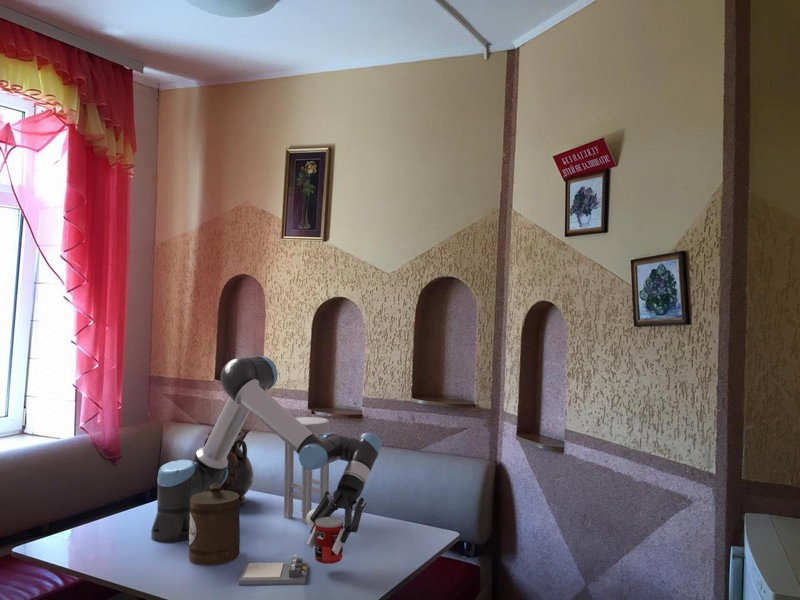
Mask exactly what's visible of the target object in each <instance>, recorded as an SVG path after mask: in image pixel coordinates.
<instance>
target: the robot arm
mask: <svg viewBox="0 0 800 600" xmlns="http://www.w3.org/2000/svg"><path fill="white" fill-rule="evenodd" d="M278 372H279V371H278V370H277V366H276V364H275V362H274V361H273V360H272V359H271V358H269V357H267V356H265V355H253V356H249V357H237V358H234V359H231V360H229V361H227V363H225V365H224V366H223V368H222V370H221V373H220V383H221V384H220V385H221V386H222V388H223V390H224V392H225V394H227V395H228V396H229V397H228V399H227V401H226V403H225V405H224V407H223V408H222V410H221V412H220V414H219V416H218V418H217V421H216V423H215V425H214V427H213V429H212V430H211V431H212V432H211V434H210V436H208V437H209V438H208V437H207V438H208V440H207V442H206V444H205V446H204V445H203V447H201V448H198V449H197V451H196V452H195V455H194V456H193V459H192V460H189V459H178V460H172V461H169V462H167V463H165V464H162V465H161V466H160V468H159V469H158V472H157V481H156V482H157V499H156V500H157V506H156V507H157V509H156V511H157V512H156V515H155V519H154V521H153V524H152V526H151V527H152V528H151V531H150V532H151V533H150V535H151V536H150V537H151V539H153V540H154V539H155V541H157V540H158V541H159V542H163V541H166V542H167V543H171V542H172V543H174V542H180V541H181V542H182V541H185V540H189V527H190V498H191V497H192V496H193V495H195V494H198V493H202V492H207V491H211V490H210V486H211V485H212V484H214V483H218V484H219V485H220V486H221V485H222V484H223V483H224V482H225V480H226V479H227V476H228V470H227V468H228V460H227V455H228V454H229V452H230V450H231V448H232V446H233V444H234V442H235V440H236V438H237V436H238V434H239V432H240V430H241V431H242V428H243V425H244V424H245V421H246V420H247V417H248V416H249V414H250V412H251V413H252V414H253V415H255V416H256V418H258V419H259V420H260V421H261V422H262V423H263V424H264V425H265V426H267V427H268V428H269V429H270V430H271V431H272V432H273V433H274V434H275V435H277V437H279V438H280V439H281V440H282V441H283V442H284V443H285V442H286V443H287V444H288V445H289V446H290V447H291V448H292V449H293V450H294V452H296V454H298V460H299V463H300V465H301V467H302V466H303V467H304V468H305V469H307V470H312V471H314V470H318V469H320V468H321V467H323V466H325V465H327V464H329V465H330V464H331V463H333V462H336V461H338V460H339V461H344V462H347V464H346V466H345V468H344V471H343V472H342V475H341V477H340V479H339V481H338V484H337V488H336V489H335V490H334V492H330V491H329V492H328V491H326V492H325V494H324V497H323V499H322V501H321V502H320V501H319V504H318V505H317V507H316V508H315V509H316V510H315V511H314V513H313V514H312V516H311V517H310V519H311V521H312V522H313V523H314V525H313V527H312V529H311V531H309V534H310V535H309V538H308V540H307V542H306V545H307V546H308V548H309V549H311V550H313V549H314V548H315V523H316V520H317V519H319V518H322V517H332V515H333V513H335V511H338V510H339V509H344V521H343V529H341V530H340V532H339V535H338V537H337V539H336V541H335V544H334V546H333V548H332V551H333V552H334V553H335V554H336V555H338V553H339V551H340V548H341V546H342V544H345V543H346V542H347V540H348V538H349V535H350V534H351V533H354V534H356V533H357V532H358V529H359V526H360V522H361V518H362V515H363V511H364V508H365V506H367V502H366V500H365V499H364V497H360V496H362V495H361V494H362V492H363V490H364V488H365V485H366V482H367V481H368V478H369V476H370V474H371V471H372V468H373V466H374V465H375V462H376V460H377V458H378V456H379V454H380V451H381V449H382V445H383V443H382V440H381V439H380V438H379V437H378V436H377V435H376V434H374V433H371V432H363V433H361V435H360V436H359V438H357V437H349V436H345V435H341V434H338V433H333V432H332V433H331V432H330V433H324V434H323V435H322V437H321V436H320V437H318V436H317V435H314V434H313V433H312V432H311V431H309V430H308V429H307V428H306V427H305V426H304V425H303V424H302V423H300V422H299V421H298V420H297V419H296V418H297V417H295V416H294V415H292V413H290V411H288V410H287V409H286V408H285V407H284V406H282V405H281V404H280V403H279V401H277V400H275V398H273V397H272V396H271V395H270V394H269V393H268V392H267V391H266V390H269V389H271V388H272V387H274V386H275V385H276V383H277V381H278ZM237 439H238V438H237ZM355 504H356V505H355ZM328 505H329V506H328ZM354 505H355V509H354V510H353V507H354ZM327 506H328V507H327ZM353 511H354V513H353ZM352 515H353V517H352ZM158 541H157V542H158Z"/></svg>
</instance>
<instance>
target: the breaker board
mask: <svg viewBox="0 0 800 600" xmlns="http://www.w3.org/2000/svg"><path fill="white" fill-rule="evenodd" d="M308 568H309V562H307V561H303V557H298V554H293V558H291V562H251V563H250V562H246V563H245V565H244V567H243V570H242V572H241V575H240V576H239V579H238V585H240V586H242V585H244V586H245V585H249V586H251V585H297V584H298V585H299V584H300V585H301V584H303V585H305V584H306V581H305V580H306V579H307V574H308V570H309V569H308ZM307 569H308V570H307Z"/></svg>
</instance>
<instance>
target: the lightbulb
mask: <svg viewBox="0 0 800 600" xmlns="http://www.w3.org/2000/svg"><path fill="white" fill-rule="evenodd" d="M315 510H316V508H313V509H311V511H310V512H309V513H308V514H307V517H306V521H307V524H306V525H307V526H308V528H309V530H310V531H311V529H312V527H313V525H314V523H313V522H312V521H311V519H310V517H311V516H312V514H313V513H314V511H315ZM310 531H309V532H310Z"/></svg>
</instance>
